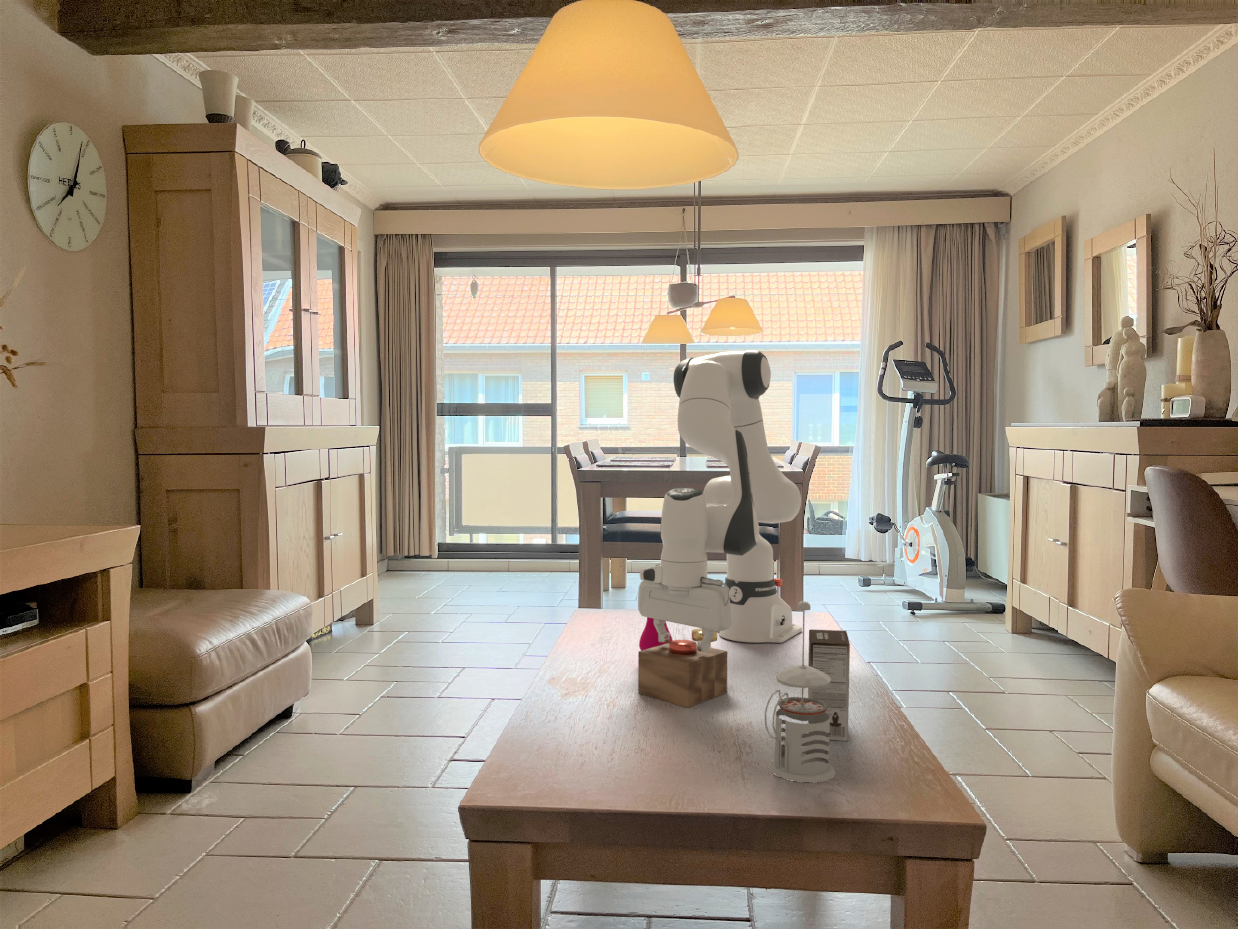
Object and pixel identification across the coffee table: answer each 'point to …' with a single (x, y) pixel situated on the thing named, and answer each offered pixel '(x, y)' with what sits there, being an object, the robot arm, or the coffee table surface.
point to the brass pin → (699, 636)
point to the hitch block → (682, 675)
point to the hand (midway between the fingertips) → (683, 646)
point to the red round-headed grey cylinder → (682, 647)
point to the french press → (801, 726)
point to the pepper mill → (651, 636)
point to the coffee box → (832, 677)
